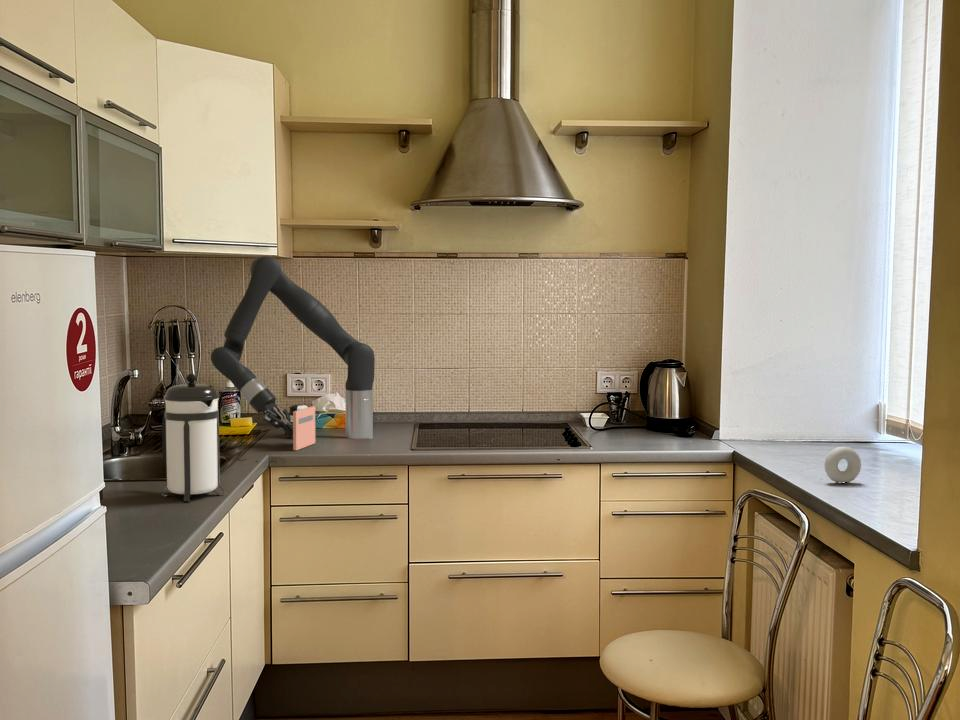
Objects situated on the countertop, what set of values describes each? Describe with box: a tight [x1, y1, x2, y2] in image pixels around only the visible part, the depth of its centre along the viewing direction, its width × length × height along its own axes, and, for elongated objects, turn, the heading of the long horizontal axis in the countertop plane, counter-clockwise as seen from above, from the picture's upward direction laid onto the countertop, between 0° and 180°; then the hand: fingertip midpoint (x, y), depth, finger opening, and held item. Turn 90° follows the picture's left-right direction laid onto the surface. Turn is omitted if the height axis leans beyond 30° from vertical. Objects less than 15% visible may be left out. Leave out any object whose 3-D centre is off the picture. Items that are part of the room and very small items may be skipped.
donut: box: [824, 446, 862, 483], centre depth 229 cm, size 10×4×10 cm, turn 98°
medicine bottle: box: [284, 404, 309, 440], centre depth 292 cm, size 7×7×12 cm
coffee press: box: [160, 373, 226, 503], centre depth 210 cm, size 17×16×30 cm
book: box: [292, 405, 316, 451], centre depth 272 cm, size 14×1×12 cm, turn 166°
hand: (293, 434), depth 274 cm, fingers closed
